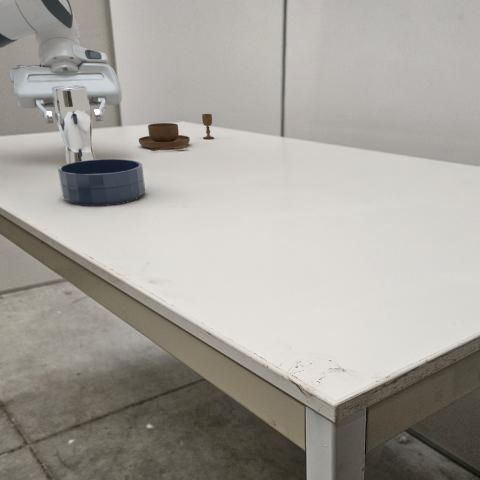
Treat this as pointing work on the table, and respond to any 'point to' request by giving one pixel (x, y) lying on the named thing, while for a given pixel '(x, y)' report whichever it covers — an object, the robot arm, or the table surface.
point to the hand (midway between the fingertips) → (74, 120)
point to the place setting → (170, 135)
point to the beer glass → (74, 121)
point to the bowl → (101, 181)
